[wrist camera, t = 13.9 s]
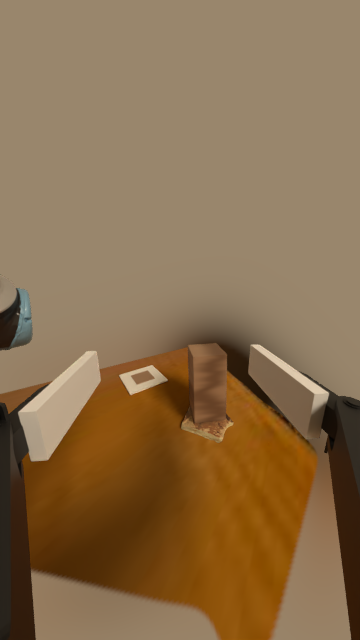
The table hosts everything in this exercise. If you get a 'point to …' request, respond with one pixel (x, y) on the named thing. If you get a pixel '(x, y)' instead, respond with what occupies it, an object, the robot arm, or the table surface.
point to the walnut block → (207, 382)
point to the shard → (206, 427)
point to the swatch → (142, 379)
